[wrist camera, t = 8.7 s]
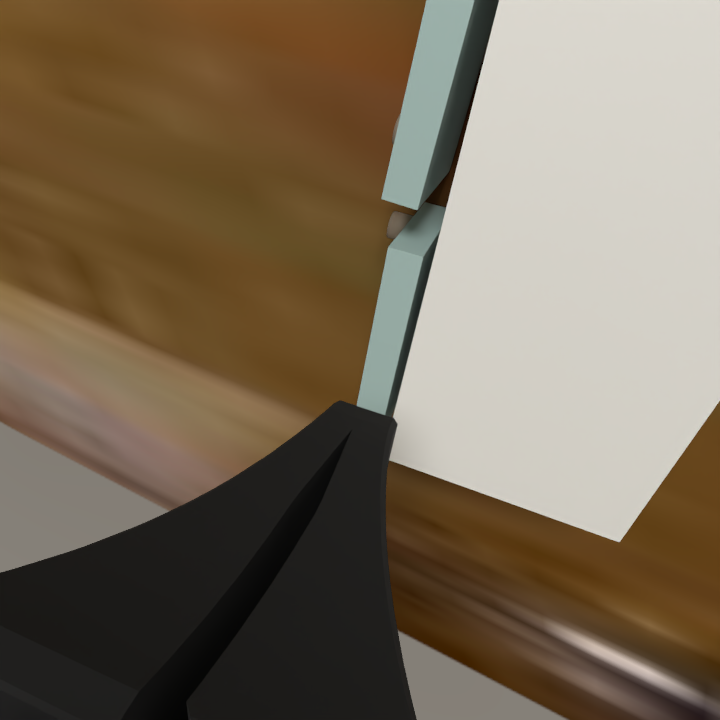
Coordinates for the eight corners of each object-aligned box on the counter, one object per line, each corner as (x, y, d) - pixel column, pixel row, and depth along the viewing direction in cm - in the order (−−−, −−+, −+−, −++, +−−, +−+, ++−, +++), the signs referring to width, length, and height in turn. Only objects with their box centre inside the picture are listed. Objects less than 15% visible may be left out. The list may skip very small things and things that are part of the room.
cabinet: (988, -200, 11) (1240, -335, 7) (609, 443, 21) (619, 542, 17) (495, -250, 12) (459, -380, 8) (369, 364, 23) (326, 437, 19)
